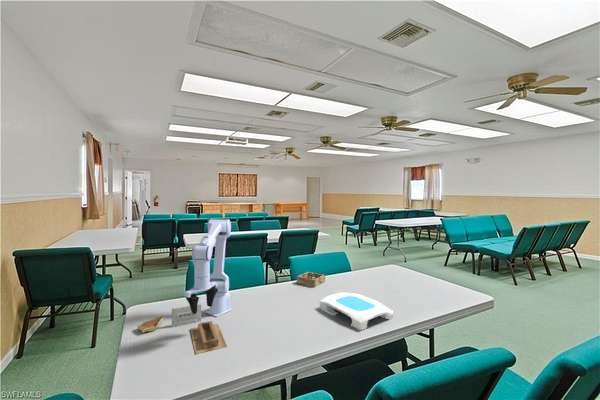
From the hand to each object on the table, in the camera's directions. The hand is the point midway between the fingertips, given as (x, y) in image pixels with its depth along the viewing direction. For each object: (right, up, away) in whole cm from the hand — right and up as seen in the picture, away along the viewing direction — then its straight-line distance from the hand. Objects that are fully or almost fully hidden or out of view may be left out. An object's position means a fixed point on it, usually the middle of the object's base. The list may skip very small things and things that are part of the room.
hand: (202, 309), depth 112 cm
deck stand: (+46, -9, +65) cm, 80 cm away
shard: (-26, -11, +10) cm, 30 cm away
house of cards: (+48, -10, +67) cm, 83 cm away
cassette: (-10, -10, +10) cm, 17 cm away
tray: (+3, -10, -3) cm, 11 cm away
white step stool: (+65, -11, +19) cm, 68 cm away
